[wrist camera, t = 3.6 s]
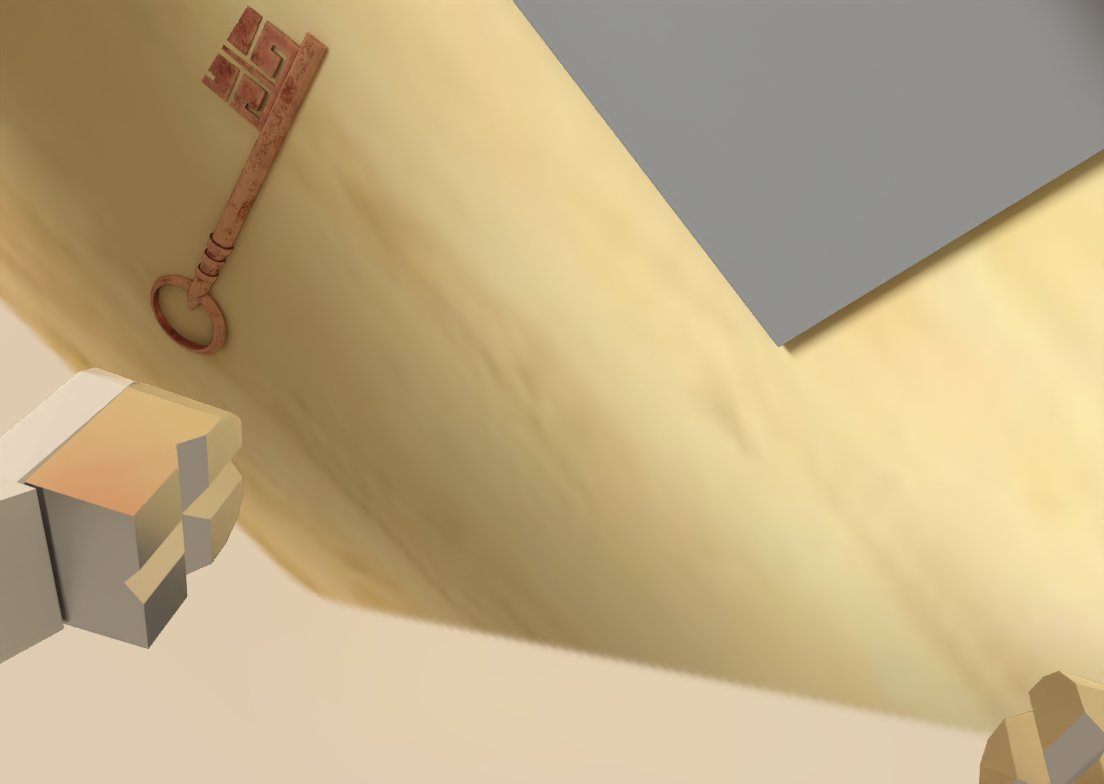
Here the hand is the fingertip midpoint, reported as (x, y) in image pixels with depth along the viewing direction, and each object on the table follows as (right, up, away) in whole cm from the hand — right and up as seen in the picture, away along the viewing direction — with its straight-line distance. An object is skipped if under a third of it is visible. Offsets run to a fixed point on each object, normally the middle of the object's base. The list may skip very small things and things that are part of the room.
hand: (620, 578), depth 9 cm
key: (-13, +10, +26) cm, 31 cm away
